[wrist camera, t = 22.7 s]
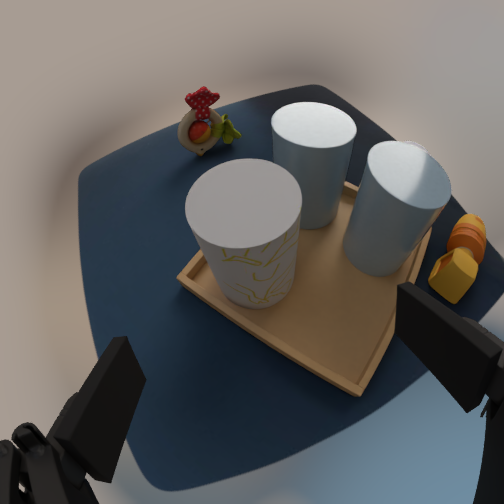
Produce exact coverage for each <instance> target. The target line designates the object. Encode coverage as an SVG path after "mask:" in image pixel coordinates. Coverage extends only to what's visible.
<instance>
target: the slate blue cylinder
mask: <svg viewBox="0 0 504 504" xmlns="http://www.w3.org/2000/svg"><path fill="white" fill-rule="evenodd" d="M356 132H357V129H356V125H355V123H354V121H353V120H352V119H351V117H349V116H348V115H347V114H346V113H344V112H343V111H341V110H339V109H337V108H335V107H333V106H330V105H326V104H322V103H315V102H299V103H293V104H289V105H286V106H284V107H282V108H280V109H279V110H277V111H276V112H275V113H274V115H273V116H272V119H271V134H272V154H273V163H275V164H277V165H279V166H281V167H282V168H284V169H285V170H287V171H288V172H289V173H290V174H291V175H292V176H293V177H294V178H295V180H296V181H297V183H298V185H299V187H300V190H301V194H302V206H301V217H300V227H299V228H300V229H309V230H311V229H318V228H322V227H324V226H326V225H328V224H329V223H331V222H332V221H333V220H334V219H335V217H336V215H337V213H338V210H339V206H340V202H341V198H342V194H343V190H344V186H345V182H346V178H347V174H348V169H349V165H350V161H351V156H352V152H353V147H354V142H355V137H356Z"/></svg>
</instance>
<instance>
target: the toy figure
mask: <svg viewBox="0 0 504 504" xmlns="http://www.w3.org/2000/svg"><path fill="white" fill-rule="evenodd" d="M485 247H486V231H485V225H484V223H483V221H482V220H481V219H480V218H479V217H478V216H477V215H475V214H467V215H464V216H463V217H462V218H460V220H459V221H458V222H457V224H456V225H455V226H454V228H453V230H452V233H451V235H450V238H449V240H448V242H447V252H448V253H447V254H445V255H443V256H442V257H440V258H439V259H438V260H437V261H436V263H435V266H434V268H433V270H432V272H431V274H430V277H429V279H428V282H429V285H430V286H431V287H432V288H433V289H434V290H435V291H437V292H438V293H439V294H440V295H441V296H443V297H444V298H445V299H447V300H448V301H449V302H451V303H453V304H456V303H457V302H458V301H459V300H460V299H461V297H462V296H463V295H464V294H465V293H466V291H467V290H468V289H469V287H470V286H471V285H472V284H473V282H474V281H475V278H476V275H477V272H478V265H479V264H480V263H481V262H482V260H483V256H484V251H485Z"/></svg>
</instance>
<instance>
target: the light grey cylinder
mask: <svg viewBox="0 0 504 504" xmlns="http://www.w3.org/2000/svg"><path fill="white" fill-rule="evenodd" d="M301 206H302V194H301V190H300V187H299V185H298V183H297V181H296V180H295V178H294V177H293V176H292V175H291V174H290V173H289V172H288V171H287V170H285V169H284V168H282V167H281V166H279V165H277V164H275V163H272V162H269V161H265V160H260V159H238V160H232V161H228V162H225V163H222V164H220V165H218V166H215V167H213V168H212V169H210V170H208V171H207V172H206V173H204V174H203V175H202V176H201V177H200V178H199V179H198V180H197V181H196V182H195V183H194V185H193V186H192V187H191V189H190V191H189V193H188V196H187V199H186V204H185V212H186V217H187V220H188V223H189V225H190V227H191V229H192V231H193V233H194V235H195V238H196V240H197V242H198V244H199V246H200V248H201V250H202V252H203V254H204V256H205V258H206V261H207V263H208V265H209V267H210V269H211V271H212V273H213V275H214V277H215V279H216V281H217V283H218V285H219V287H220V289H221V291H222V293H223V294H224V295H225V297H226V298H227V299H228V300H230V301H231V302H232V303H234V304H235V305H237V306H240V307H243V308H246V309H263V308H267V307H270V306H272V305H274V304H276V303H278V302H279V301H280V300H282V299H283V298H284V297H285V296H286V295H287V293H288V292H289V290H290V288H291V286H292V284H293V280H294V273H295V265H296V256H297V247H298V237H299V227H300V217H301Z"/></svg>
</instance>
